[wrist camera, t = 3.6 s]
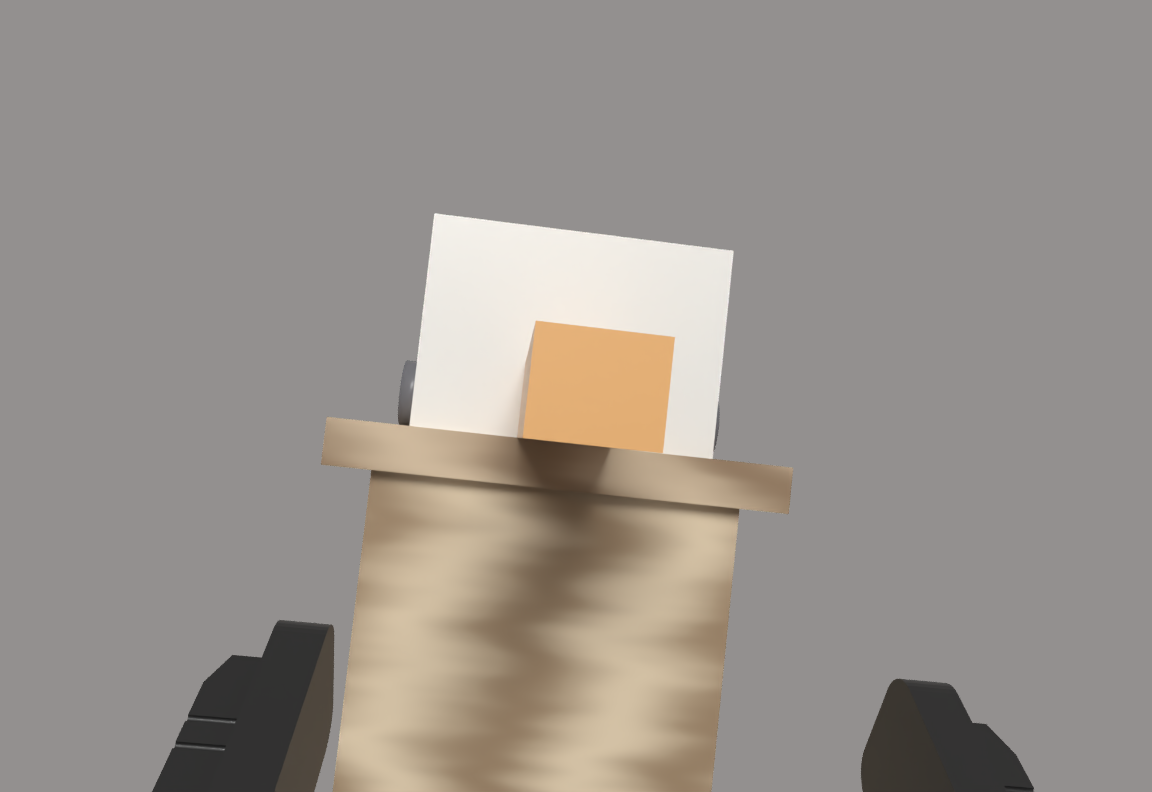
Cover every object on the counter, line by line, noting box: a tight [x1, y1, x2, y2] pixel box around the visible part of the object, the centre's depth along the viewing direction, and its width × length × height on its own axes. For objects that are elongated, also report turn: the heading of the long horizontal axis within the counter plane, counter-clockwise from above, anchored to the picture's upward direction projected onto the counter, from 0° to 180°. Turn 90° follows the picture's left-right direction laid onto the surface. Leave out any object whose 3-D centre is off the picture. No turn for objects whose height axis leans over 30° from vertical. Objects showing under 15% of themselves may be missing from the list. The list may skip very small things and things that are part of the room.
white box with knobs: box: [398, 214, 733, 459], centre depth 28 cm, size 12×16×7 cm
